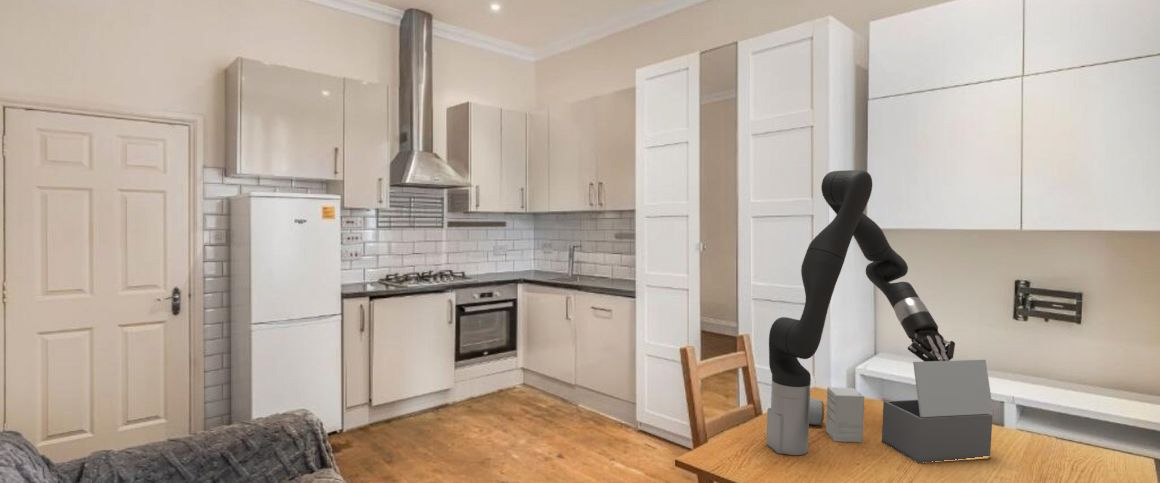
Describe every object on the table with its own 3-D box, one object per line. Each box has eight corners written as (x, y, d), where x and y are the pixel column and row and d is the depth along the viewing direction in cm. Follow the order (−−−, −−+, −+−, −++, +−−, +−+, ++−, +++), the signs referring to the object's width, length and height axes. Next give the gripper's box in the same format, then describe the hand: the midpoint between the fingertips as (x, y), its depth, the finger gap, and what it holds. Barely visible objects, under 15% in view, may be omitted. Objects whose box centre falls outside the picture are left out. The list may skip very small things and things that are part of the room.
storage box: (918, 463, 138) (920, 418, 137) (881, 442, 150) (883, 401, 150) (990, 458, 141) (992, 415, 140) (947, 438, 154) (949, 398, 153)
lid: (920, 416, 137) (922, 417, 137) (913, 361, 140) (914, 361, 139) (991, 413, 141) (993, 413, 140) (983, 359, 143) (985, 359, 142)
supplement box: (852, 432, 157) (854, 387, 156) (863, 443, 149) (865, 396, 149) (824, 431, 158) (826, 386, 157) (834, 441, 150) (836, 394, 149)
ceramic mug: (824, 429, 159) (825, 402, 158) (793, 425, 161) (794, 399, 161) (819, 417, 169) (820, 391, 169) (790, 414, 171) (791, 388, 171)
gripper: (901, 310, 148) (935, 370, 137) (944, 309, 151) (982, 368, 140) (885, 326, 154) (917, 385, 143) (927, 325, 156) (962, 382, 145)
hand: (949, 376), depth 141 cm, fingers closed
